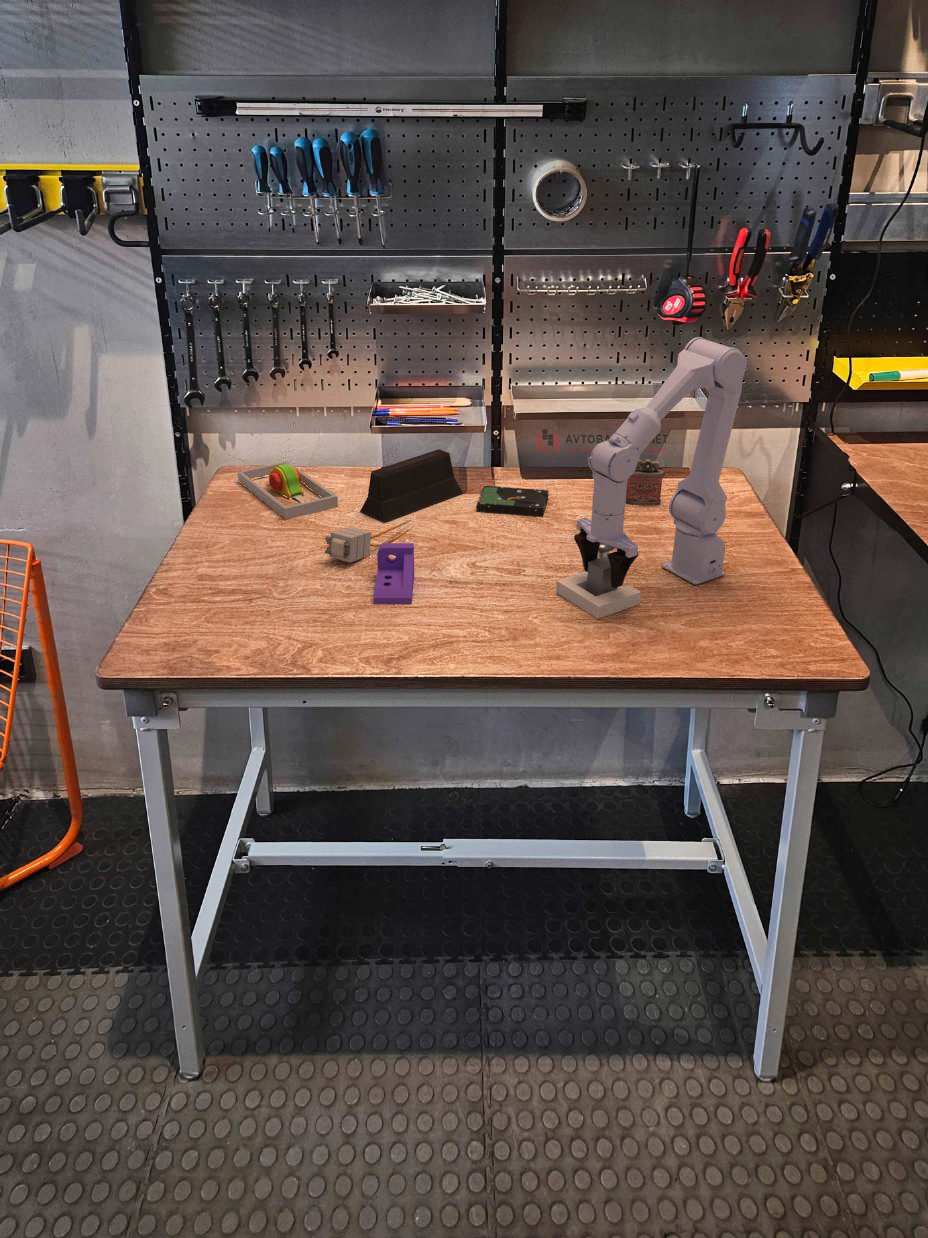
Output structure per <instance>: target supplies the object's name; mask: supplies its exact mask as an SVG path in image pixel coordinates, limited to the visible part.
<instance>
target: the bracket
mask: <svg viewBox="0 0 928 1238" xmlns="http://www.w3.org/2000/svg"><path fill="white" fill-rule="evenodd" d="M383 543H384V544H383ZM383 543H381V544H382V545H380V546H378V549H377V554H376V557H377V558H376V561H377V572H376V577H375V584H374V589H373V591H374V592H373V604H374V605H377V604H379V605H380V604H381V605H412V604H413V594H414V586H415V585H414V584H415V583H414V582H415V543H414V542H411V543H410V542H408V543H407V542H406V543H405V542H403V543H402V542H401V543H400V542H398V543H395V542H392V543H391V542H390V543H386V542H383ZM389 556H395V558H391V557H389Z"/></svg>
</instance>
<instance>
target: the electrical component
mask: <svg viewBox="0 0 928 1238" xmlns="http://www.w3.org/2000/svg"><path fill="white" fill-rule="evenodd" d="M411 521H412V519H409V520H407V521H404V522H402V523H400V524H397V525H395V526H393V527H391V528H390V527H389V528H388V529H386V530H383V531H382V532H379V533H377V534H375V535H372V531H369V530H366V529H362V528H359V527H354V526H348V527H344V528H340V529H337V530H334V531H331V532H330V536H329V535H327V536H325V538H324V539H325V542H326V544H327V545H329V546H327V547H326V549H325V550H324V554H328V555H329V558H332V559H335V560H339V561H343V562H347V563H352V562H356V561H359V560H362V559H364V558H367V557H369V556H370V555H371V554H370V551H371V547H373V548H374V547H376V548H377V547H378V548H379V547H380V545H382V544H384V543H391V542H392V543H393V542H394V541H396V540H398V539H400V538H401V537H402V536H404V535H405V534H407V533H408V532H410V530H412V529H413V528H415V525H413V526H411V527H409V529H406V530H405V531H404V532H402V533H401V534H399V535H398V536H397V537H394V538H392V539H391V540H389V541H386V542H383V543H379V544H371V542H372V540H373V539H375V538H378V537H380V536H382V535H385V534H386V533H389V532H390V531H391V532H392V531H393V530H395V529H397V528H399V527H401V526H403V525H405V524H408V523H409V522H411Z"/></svg>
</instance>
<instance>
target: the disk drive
mask: <svg viewBox="0 0 928 1238" xmlns="http://www.w3.org/2000/svg"><path fill="white" fill-rule="evenodd" d="M549 494H550V493H549V489H547V490H546V489H535V488H521V487H519V488H518V487H509V486H496V485H495V486H492V485H484V486H483V487H482V489H481V492H480V494H479V496H478V499H477V501H476V507H475V508H476V509H475V511H476V512H477V513H487V514H499V515H500V514H501V515H511V516H512V515H513V516H514V515H516V516H526V517H527V516H528V517H535V518H537V517H539V518H543V517H544V514H545V511H546V508H547V505H548V502H549Z"/></svg>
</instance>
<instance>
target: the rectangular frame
mask: <svg viewBox="0 0 928 1238" xmlns="http://www.w3.org/2000/svg"><path fill="white" fill-rule="evenodd" d="M282 464H290V465H292V466H293V467H294V468H295V469H297V470H298V471H299V473H300V476H301V481H302V482H303V483H305V485H307V486H308V487H309V488H311V489H312V490H313V491H314V492H315V493H317V494H318V495H320V496H321V497H322V498H321V497H320V496H319V497H320V498H317V499H314V500H310V501H308V502H304V503H301V502H299V503H296V504H293V505H288V506H287V505H286V504H284V503H283V502H281V501H280V500H278V498H276V497H275V496H274V495H272V494H271V493H269V491H267V490H266V489H264V488H263V487H262V486H261V485H259V484H258V483H257V482H256V481H255V480H251V479H252V478H255V477H263V476H265V475H269V473H270V470H272V469H273V468H275V467H276V466H278V465H282ZM237 480H238V482H239V481H240V482H241V483H242V484H243V485H245V486H246V487H247V488H248V489H250V491H249V492H251V491H252V492H253V493H254V494H255V496H256V495H257V496H258V497H259V498H261V499H260V501H262V500H263V501H264V502H265V503H264V502H263V501H262V502H263V503H264V504H265V505H267V506H268V507H269V506H270V509H272V510H274V512H276V513H277V514H278V515H279V516H281V518H283V519H284V520H289V519H293V518H298V517H303V516H306V515H309V514H314V513H317V512H318V513H319V512H323V511H326V510H330V509H333V508H338V507H339V500H338V498H339V497H338V495H337V494H335V492H334V493H333V491H332V490H330V489H328V488H327V487H325V486H324V485H322V484H321V483H319V482H318V481H316V480H315V479H314V478H312V477H311V476H309V475H308V474H307V473H305V472H303V470H300V469H299V468H298V467H296V466H295V465H293V464H292V463H291V462H289V461H287V460H286V461H283V462H277V463H273V464H269V465H263V466H259V467H255V468H250V469H249V468H248V469H246V470H245V469H244V470H242V471H237ZM241 483H240V484H241ZM242 484H241V485H242ZM243 485H242V486H243ZM246 487H245V488H246ZM247 488H246V489H247ZM248 489H247V490H248ZM313 491H312V492H313ZM252 492H251V493H252ZM314 492H313V493H314ZM253 493H252V494H253ZM315 493H314V494H315ZM254 494H253V495H254ZM317 494H316V495H317ZM318 495H317V496H318ZM257 496H256V497H257ZM258 497H257V498H258ZM259 498H258V499H259Z"/></svg>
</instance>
